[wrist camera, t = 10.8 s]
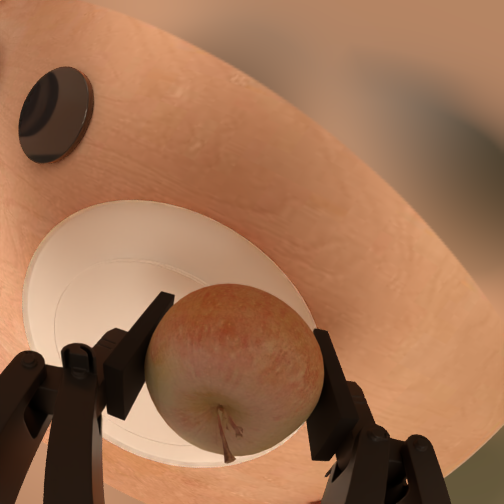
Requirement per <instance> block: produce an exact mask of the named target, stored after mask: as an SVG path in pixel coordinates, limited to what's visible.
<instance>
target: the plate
mask: <svg viewBox="0 0 504 504" xmlns="http://www.w3.org/2000/svg"><path fill="white" fill-rule="evenodd" d="M228 283H229V284H241V285H247V286H251V287H255V288H258V289H261V290H263V291H265V292H268V293H270V294H272V295H274V296H275V297H277V298H279V299H280V300H282V301H283V302H285V303H286V304H287V305H289V306H290V307H291V308H293V309H294V310H295V311H296V312H297V313H298V314H299V315H300V316H301V317H302V319H303V320H304V321H305V322H306V323H307V325H308V326H309V327H310V329H311V330H312V332H313V330H314V328H316V329H317V327H316V324H315V322H314V319H313V317H312V315H311V312H310V310H309V308H308V307H307V305H306V303H305V301H304V299H303V298H302V296H301V295H300V293H299V292H298V290H297V289H296V287H295V286H294V284H293V283H292V282H291V281H290V279H289V278H288V277H287V276H286V274H285V273H284V272H283V271H282V270H281V269H280V268H279V267H278V266H277V265H276V264H275V263H274V261H273V260H271V259H270V258H269V257H268V256H267V255H266V254H265V253H264V252H263V251H261V250H260V249H259V248H258V247H256V246H255V245H254V244H253V243H251V242H250V241H249V240H247V239H246V238H244V237H243V236H241V235H240V234H238V233H237V232H235V231H234V230H232V229H230V228H229V227H227V226H225V225H223V224H221V223H219V222H217V221H216V220H213V219H211V218H209V217H207V216H204V215H202V214H200V213H197V212H194V211H191V210H189V209H186V208H183V207H179V206H175V205H171V204H167V203H161V202H155V201H146V200H118V201H110V202H105V203H100V204H96V205H93V206H90V207H87V208H84V209H82V210H80V211H78V212H76V213H74V214H72V215H70V216H69V217H67V218H65V219H64V220H62V221H61V222H60V223H59V224H57V225H56V226H55V227H54V228H53V229H52V230H51V231H50V232H49V233H48V234H47V235H46V236H45V237H44V239H43V240H42V241H41V243H40V244H39V246H38V247H37V249H36V250H35V252H34V254H33V256H32V258H31V261H30V263H29V266H28V269H27V272H26V275H25V280H24V285H23V294H22V313H23V322H24V328H25V333H26V337H27V340H28V344H29V347H30V349H31V351H35V352H38V353H40V354H41V355H42V356H43V357H44V360H45V364H48V365H52V366H57V367H63V365H62V359H61V350H62V348H63V347H64V346H66V345H68V344H71V343H83V344H86V345H88V346H90V347H91V348H92V347H93V346H94V345H95V344H97V342H98V341H99V340H100V339H101V337H102V336H103V335H104V334H105V333H106V332H107V331H109V330H111V329H114V328H119V329H122V330H124V331H127V332H128V331H129V330H130V328H131V327H132V326H133V325H134V324H135V322H136V321H137V320H138V319H139V317H140V316H141V315H142V314H143V313H144V311H145V310H146V309H147V308H148V306H149V305H150V304H151V303H152V302H153V300H154V299H155V298H156V297H157V296H158V294H159V293H160V292H161V291H163V292H167V293H170V294H174V295H175V298H174V304H175V303H176V302H178V301H179V300H180V299H181V298H183V297H184V296H186V295H188V294H189V293H191V292H193V291H196V290H198V289H201V288H203V287H207V286H212V285H216V284H228ZM102 419H103V420H102V438H104V439H106V440H107V441H109V442H111V443H112V444H114V445H116V446H118V447H120V448H122V449H124V450H126V451H128V452H130V453H133V454H135V455H138V456H140V457H143V458H146V459H149V460H152V461H156V462H160V463H164V464H169V465H174V466H181V467H192V468H213V467H223V466H230V465H235V464H239V463H243V462H246V461H250V460H253V459H255V458H258V457H260V456H262V455H265V454H267V453H269V452H270V451H272V450H274V449H276V448H277V447H279V446H280V445H282V444H283V443H284V442H286V441H287V440H288V439H289V438H291V437H292V436H293V435H294V434H295V433H296V432H297V431H298V430H299V429H300V427H301V426H302V425H303V424H304V423H303V424H302V425H301V426H300V427H299V428H298V429H297V430H296V431H294V432H293V433H292V434H291V435H289V436H288V437H287V438H285V439H284V440H283V441H281V442H280V443H278V444H277V445H275V446H273V447H272V448H269V449H267V450H264V451H262V452H260V453H256V454H253V455H246V456H234V457H235V458H236V460H235V461H233V462H231V463H228V464H227V463H225V462H224V455H221V454H216V453H212V452H208V451H205V450H202V449H199V448H198V447H196V446H194V445H192V444H190V443H188V442H187V441H185V440H184V439H182V438H181V437H180V436H178V435H177V434H176V433H175V432H174V431H173V430H172V429H171V428H170V427H169V426H168V425H167V423H166V422H165V421H164V419H163V418H162V417H161V415H160V414H159V413H158V411H157V409H156V407H155V405H154V403H153V401H152V399H151V397H150V394H149V392H148V389H147V385H146V381H145V383H144V385H143V387H142V389H141V391H140V393H139V394H138V396H137V398H136V400H135V402H134V404H133V406H132V408H131V410H130V412H129V414H128V416H127V418H126V419H125V421H124V420H121V419H119V418H116V417H114V416H111V415H109V414H107V407H105V408H104V410H103V412H102Z"/></svg>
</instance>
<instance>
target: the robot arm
mask: <svg viewBox="0 0 504 504" xmlns="http://www.w3.org/2000/svg"><path fill="white" fill-rule="evenodd" d="M174 298H175V295H174V294H170V293H167V292H163V291H161V292H160V293H159V294H158V296H157V297H156V298H155V299H154V300H153V302H152V303H151V304H150V305H149V306H148V308H147V309H146V310H145V311H144V313H143V314H142V315H141V316H140V317H139V319H138V320H137V321H136V322H135V324H134V325H133V326H132V327H131V328H130V330H129V331H128V332H127V331H124V330H122V329H119V328H114V329H111V330H109V331H107V332H106V333H105V334H104V335H103V336H102V337H101V339H100V340H99V341H98V342H97V344H95V345H94V346H93V347H92V348H91V347H90V346H88V345H86V344H83V343H71V344H68V345H66V346H64V347H63V348H62V350H61V359H62V365H63V367H57V366H52V365H48V364H45V360H44V357H43V356H42V355H41V354H40V353H38V352H35V351H23V352H20V353H19V354H18V355H16V356H15V358H14V359H13V360H12V361H11V362H10V363H9V365H8V366H7V367H6V368H5V369H4V371H3V372H2V373H1V374H0V504H15V501H16V499H17V496H18V493H19V490H20V488H21V486H22V483H23V481H24V479H25V476H26V474H27V471H28V469H29V467H30V465H31V462H32V460H33V457H34V456H35V453H36V451H37V449H38V447H39V445H40V443H41V441H42V439H43V436H44V434H45V432H46V430H47V428H48V426H49V424H50V422H51V420H52V423H51V429H50V435H49V442H48V449H47V458H46V467H45V479H44V498H43V504H105V502H104V490H103V469H102V420H103V419H102V412H103V410H104V408H105V407H107V414H109V415H111V416H114V417H116V418H119V419H121V420H124V421H125V419H126V418H127V416H128V414H129V412H130V410H131V408H132V406H133V404H134V402H135V400H136V398H137V396H138V394H139V393H140V391H141V389H142V387H143V385H144V383H145V369H144V365H145V356H146V352H147V349H148V346H149V343H150V340H151V338H152V335H153V333H154V331H155V329H156V328H157V326H158V324H159V322H160V321H161V319H162V318H163V317H164V315H165V314H166V313H167V311H168V310H169V309H170V308H171V307H172V306H173V305H174ZM313 334H314V336H315V338H316V340H317V342H318V344H319V346H320V350H321V353H322V357H323V364H324V380H323V387H322V391H321V395H320V398H319V401H318V403H317V405H316V407H315V408H314V410H313V412H312V413H311V414H310V416H309V417H308V419H307V420H306V422H307V429H308V436H309V443H310V450H311V457H312V460H314V461H330V459H331V458H332V457H333V455H334V454H336V459H337V461H336V462H335V464H334V465H333V466H332V467H331V468H330V470H329V471H328V472H327V473H326V475H325V477H327V476H328V475H329V474H330V476H329V479H328V482H327V486H326V489H325V492H324V495H323V498H322V500H321V503H320V504H451V502H450V498H449V495H448V491H447V488H446V484H445V481H444V478H443V475H442V472H441V469H440V466H439V463H438V460H437V457H436V454H435V451H434V449H433V446H432V444H431V442H430V441H429V440H428V439H427V438H426V437H424V436H422V435H417V434H415V435H411V436H410V437H408V439H407V440H406V441H401V440H396V439H392V438H390V435H389V433H388V432H387V430H385V429H384V428H383V427H381V426H379V425H377V424H375V421H374V419H373V416H372V414H371V411H370V409H369V406H368V404H367V401H366V399H365V398H364V397H365V396H364V394H363V391H362V389H361V388H360V387H359V386H358V385H357V383H356V382H352V381H346V379H345V376H344V374H343V371H342V368H341V365H340V363H339V360H338V357H337V355H336V352H335V349H334V347H333V344H332V342H331V339H330V336H329V334H328V331H326V330H321V329H316V328H314V330H313ZM406 479H407V480H408V485H407V483H406Z"/></svg>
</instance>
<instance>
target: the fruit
mask: <svg viewBox="0 0 504 504" xmlns="http://www.w3.org/2000/svg"><path fill="white" fill-rule="evenodd" d="M144 369H145V381H146V385H147V389H148V392H149V394H150V397H151V399H152V401H153V403H154V405H155V407H156V409H157V411H158V413H159V414H160V415H161V417H162V418H163V419H164V421H165V422H166V423H167V425H168V426H169V427H170V428H171V429H172V430H173V431H174V432H175V433H176V434H177V435H178V436H180V437H181V438H182V439H184V440H185V441H187V442H188V443H190V444H192V445H194V446H196V447H198V448H199V449H202V450H205V451H208V452H212V453H216V454H221V455H224V462H225V463H227V464H228V463H231V462H233V461H235V460H236V458H235V457H234V456H246V455H253V454H256V453H260V452H262V451H264V450H267V449H269V448H272V447H273V446H275V445H277V444H278V443H280V442H281V441H283V440H284V439H285V438H287V437H288V436H289V435H291V434H292V433H293V432H294V431H296V430H297V429H298V428H299V427H300V426H301V425H302V424H303V423H304V422H305V421H306V420H307V419H308V417H309V416H310V414H311V413H312V412H313V410H314V408H315V407H316V405H317V403H318V401H319V398H320V395H321V391H322V387H323V380H324V364H323V357H322V353H321V350H320V346H319V344H318V342H317V340H316V338H315V336H314V334H313V332H312V330H311V329H310V327H309V326H308V325H307V323H306V322H305V321H304V320H303V319H302V317H301V316H300V315H299V314H298V313H297V312H296V311H295V310H294V309H293V308H291V307H290V306H289V305H287V304H286V303H285V302H283V301H282V300H280V299H279V298H277V297H275V296H274V295H272V294H270V293H268V292H265V291H263V290H261V289H258V288H255V287H251V286H247V285H241V284H229V283H228V284H216V285H212V286H207V287H203V288H201V289H198V290H196V291H193V292H191V293H189V294H188V295H186V296H184V297H183V298H181V299H180V300H179V301H178V302H176V303H175V304H174V305H173V306H172V307H171V308H170V309H169V310H168V311H167V313H166V314H165V315H164V317H163V318H162V319H161V321H160V322H159V324H158V326H157V328H156V329H155V331H154V333H153V335H152V338H151V340H150V343H149V346H148V349H147V352H146V356H145V365H144Z"/></svg>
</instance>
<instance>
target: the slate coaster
mask: <svg viewBox="0 0 504 504" xmlns="http://www.w3.org/2000/svg"><path fill="white" fill-rule="evenodd" d="M92 111H93V90H92V86H91V83H90V81H89V79H88V78H87V76H86V75H85V74H84V73H82V72H81V71H79V70H77V69H75V68H72V67H59V68H56V69H54V70H52V71H50V72H48V73H47V74H45V75H44V76H43V77H42V78H40V79H39V80H38V81H37V83H36V84H35V85H34V86H33V88H32V89H31V91H30V92H29V94H28V96H27V97H26V100H25V102H24V104H23V107H22V110H21V114H20V118H19V140H20V144H21V147H22V149H23V151H24V153H25V154H26V156H27V157H28V158H29V159H31V160H32V161H34V162H36V163H39V164H50V163H55V162H58V161H60V160H62V159H63V158H65V157H66V156H68V155H69V154H70V153H71V152H72V151H73V150H74V149H75V148H76V146H77V145H78V144H79V142H80V141H81V139H82V138H83V136H84V134H85V132H86V130H87V128H88V125H89V122H90V119H91V115H92Z"/></svg>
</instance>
